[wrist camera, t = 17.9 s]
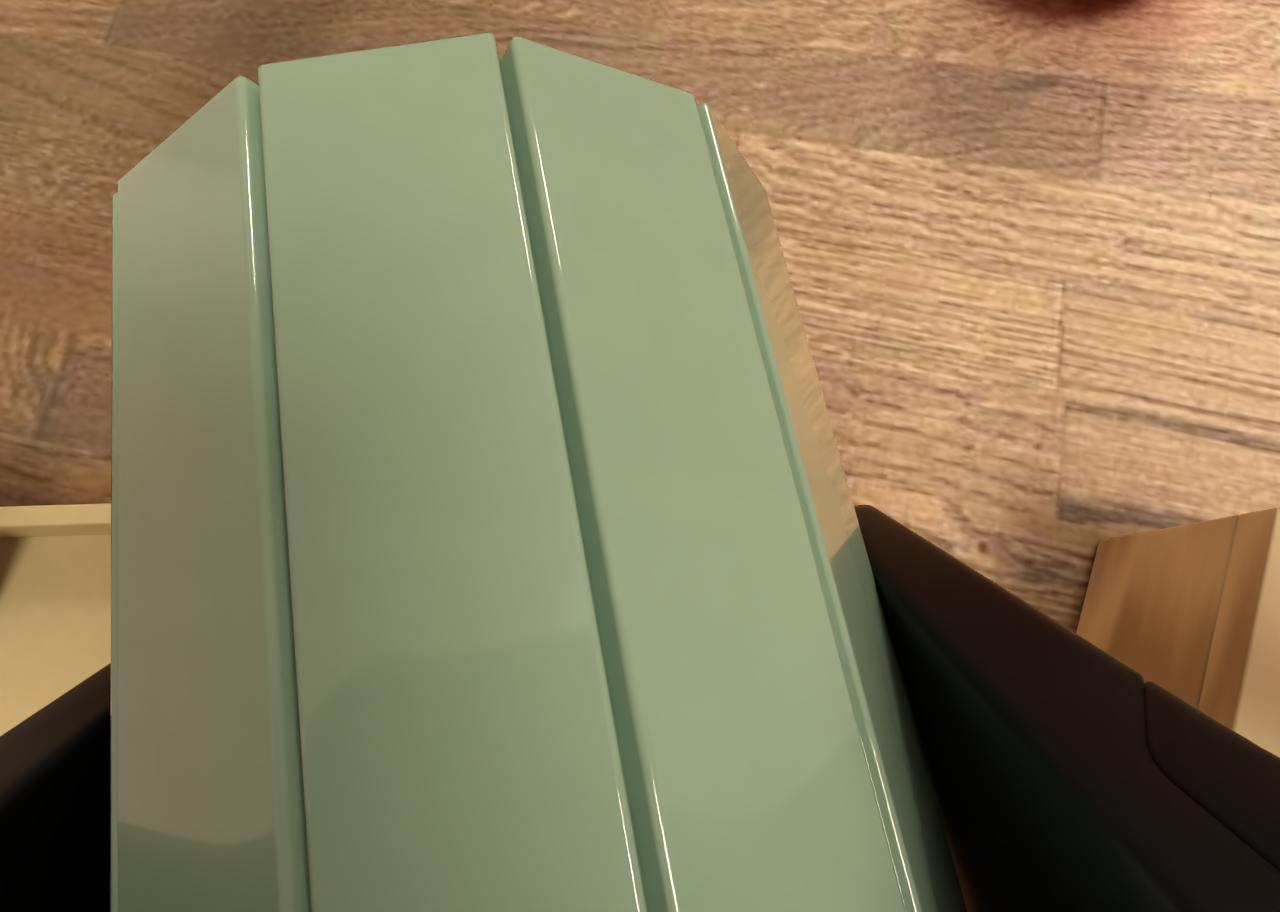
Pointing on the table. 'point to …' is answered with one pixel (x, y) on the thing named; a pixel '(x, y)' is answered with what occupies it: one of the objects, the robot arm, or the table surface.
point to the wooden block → (1197, 616)
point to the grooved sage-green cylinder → (485, 515)
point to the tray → (52, 603)
